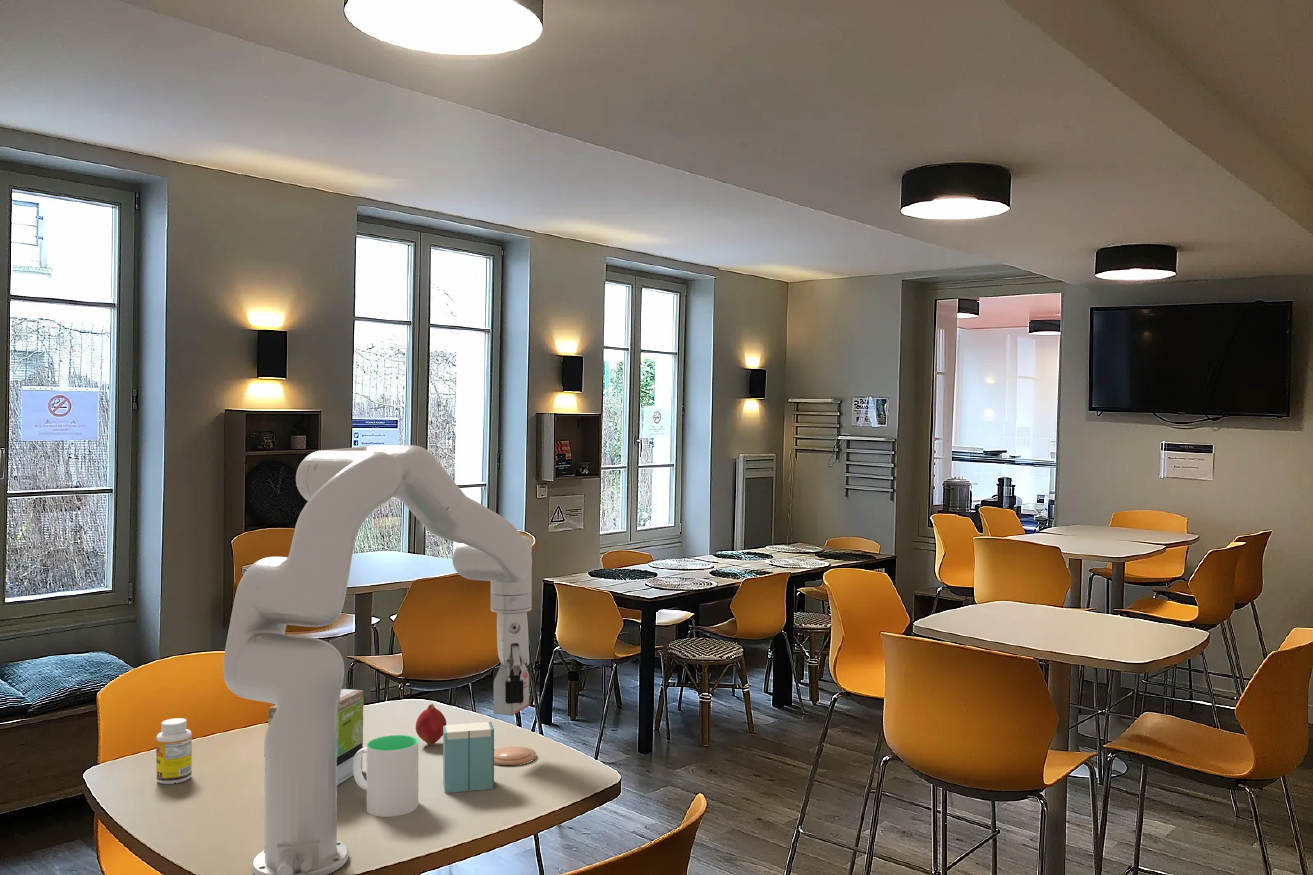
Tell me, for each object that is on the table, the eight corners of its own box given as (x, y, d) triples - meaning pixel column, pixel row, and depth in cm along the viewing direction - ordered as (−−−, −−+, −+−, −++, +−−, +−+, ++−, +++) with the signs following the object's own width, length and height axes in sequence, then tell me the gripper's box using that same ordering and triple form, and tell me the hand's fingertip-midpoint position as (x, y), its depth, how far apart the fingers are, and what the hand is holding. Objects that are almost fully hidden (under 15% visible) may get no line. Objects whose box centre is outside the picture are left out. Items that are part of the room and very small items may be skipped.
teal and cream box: (494, 788, 168) (493, 729, 168) (444, 793, 166) (444, 732, 166) (491, 779, 173) (491, 721, 173) (443, 784, 171) (443, 725, 171)
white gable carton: (493, 713, 182) (493, 659, 182) (511, 704, 188) (511, 651, 188) (511, 715, 181) (511, 660, 181) (529, 706, 187) (529, 653, 187)
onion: (413, 742, 194) (412, 701, 194) (442, 738, 196) (442, 698, 196) (419, 751, 188) (419, 709, 188) (449, 747, 191) (449, 705, 191)
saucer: (539, 763, 181) (539, 758, 181) (489, 767, 179) (489, 762, 179) (532, 748, 190) (532, 743, 190) (484, 752, 188) (484, 747, 188)
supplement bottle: (159, 776, 175) (159, 718, 175) (194, 773, 176) (194, 715, 176) (153, 786, 169) (153, 726, 169) (189, 783, 171) (189, 724, 171)
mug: (336, 808, 160) (336, 743, 160) (369, 791, 167) (369, 730, 167) (397, 819, 155) (397, 753, 155) (428, 802, 162) (428, 738, 162)
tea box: (320, 800, 163) (320, 710, 163) (265, 796, 165) (264, 707, 165) (364, 770, 178) (364, 687, 178) (313, 766, 180) (313, 684, 180)
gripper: (538, 609, 177) (538, 708, 177) (524, 593, 194) (525, 684, 194) (495, 611, 175) (496, 711, 175) (486, 595, 192) (486, 686, 192)
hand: (511, 696), depth 185 cm, fingers closed on white gable carton, 7 cm apart
